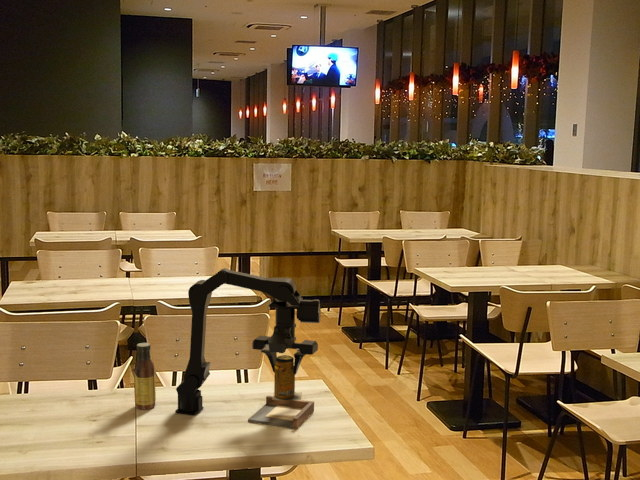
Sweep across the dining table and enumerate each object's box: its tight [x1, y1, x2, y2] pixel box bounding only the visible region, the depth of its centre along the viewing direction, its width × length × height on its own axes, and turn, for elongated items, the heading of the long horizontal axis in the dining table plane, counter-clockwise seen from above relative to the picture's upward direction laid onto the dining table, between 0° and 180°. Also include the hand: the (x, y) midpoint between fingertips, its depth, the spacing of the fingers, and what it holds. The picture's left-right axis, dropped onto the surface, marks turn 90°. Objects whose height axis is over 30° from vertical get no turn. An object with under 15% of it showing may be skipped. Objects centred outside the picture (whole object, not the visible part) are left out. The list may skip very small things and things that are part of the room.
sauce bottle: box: [133, 342, 157, 410], centre depth 240 cm, size 7×6×20 cm
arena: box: [247, 395, 315, 430], centre depth 236 cm, size 15×15×3 cm
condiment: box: [272, 354, 303, 400], centre depth 235 cm, size 7×8×12 cm
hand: (284, 373), depth 235 cm, fingers closed on condiment, 6 cm apart
